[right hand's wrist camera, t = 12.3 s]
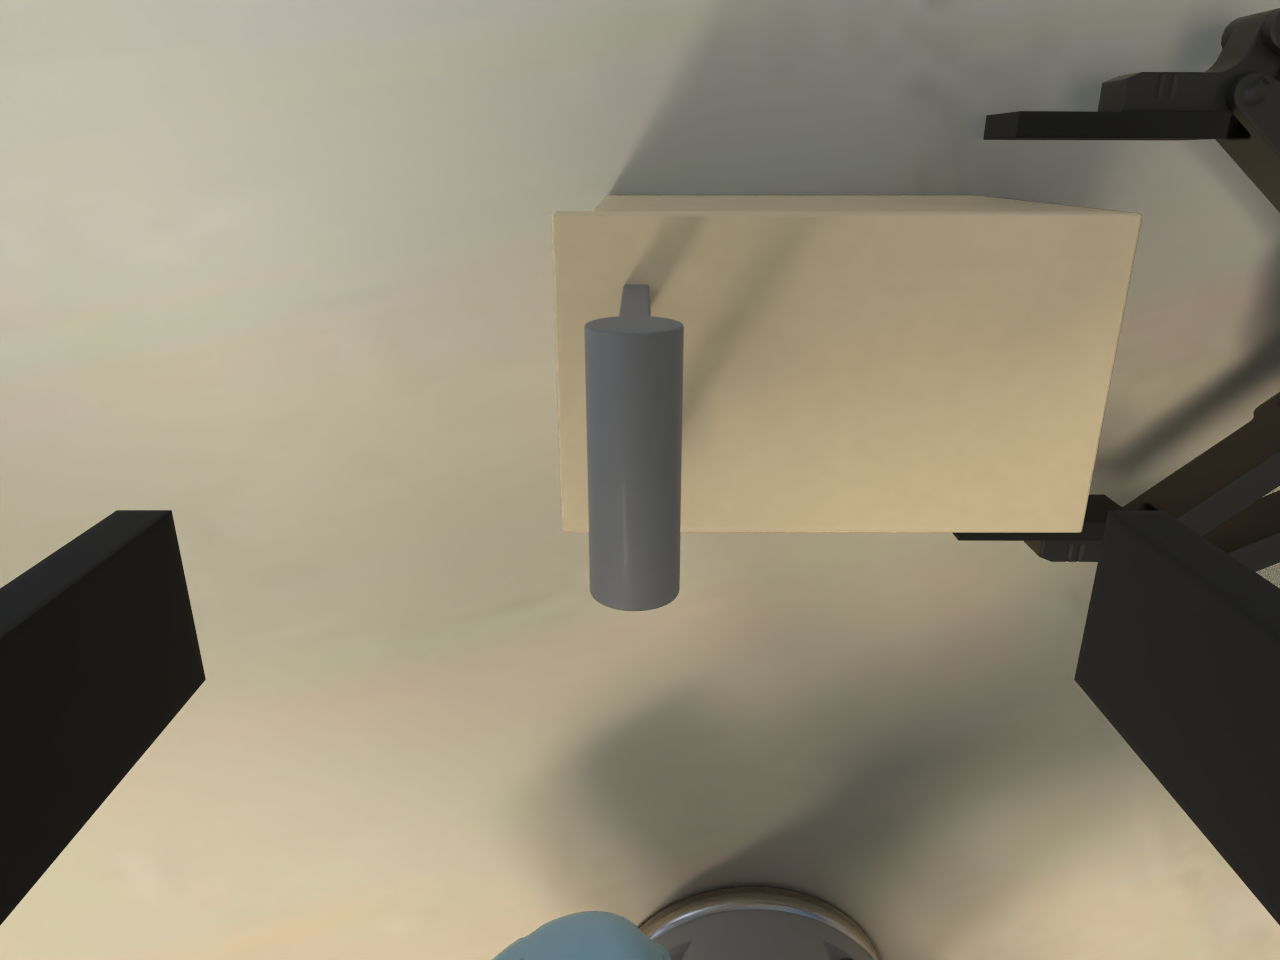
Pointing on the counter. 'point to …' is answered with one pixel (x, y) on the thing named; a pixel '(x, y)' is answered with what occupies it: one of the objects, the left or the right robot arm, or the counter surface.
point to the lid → (827, 375)
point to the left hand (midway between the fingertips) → (970, 336)
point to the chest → (824, 203)
